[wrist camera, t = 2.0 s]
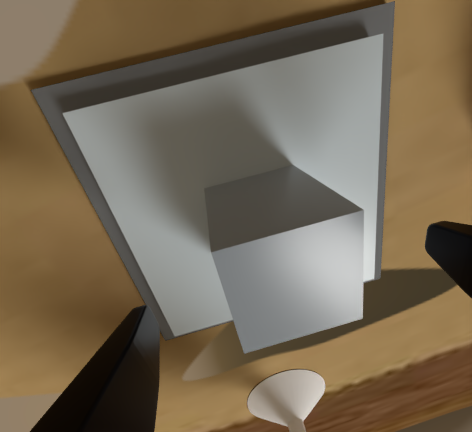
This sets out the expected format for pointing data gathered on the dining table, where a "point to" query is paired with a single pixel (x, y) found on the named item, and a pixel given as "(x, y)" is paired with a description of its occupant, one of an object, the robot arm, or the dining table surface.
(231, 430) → the dining table surface
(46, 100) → the mat
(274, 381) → the champagne flute
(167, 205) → the lid
